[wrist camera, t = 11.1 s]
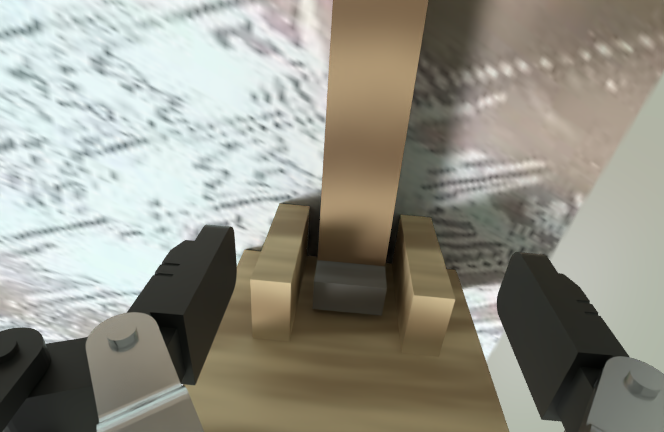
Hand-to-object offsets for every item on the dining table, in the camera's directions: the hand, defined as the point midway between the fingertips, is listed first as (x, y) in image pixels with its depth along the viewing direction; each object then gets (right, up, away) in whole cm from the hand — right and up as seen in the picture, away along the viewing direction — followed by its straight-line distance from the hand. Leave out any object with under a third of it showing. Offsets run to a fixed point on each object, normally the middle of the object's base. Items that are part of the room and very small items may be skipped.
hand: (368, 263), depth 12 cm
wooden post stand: (0, -1, +16) cm, 16 cm away
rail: (+1, +7, +12) cm, 14 cm away
